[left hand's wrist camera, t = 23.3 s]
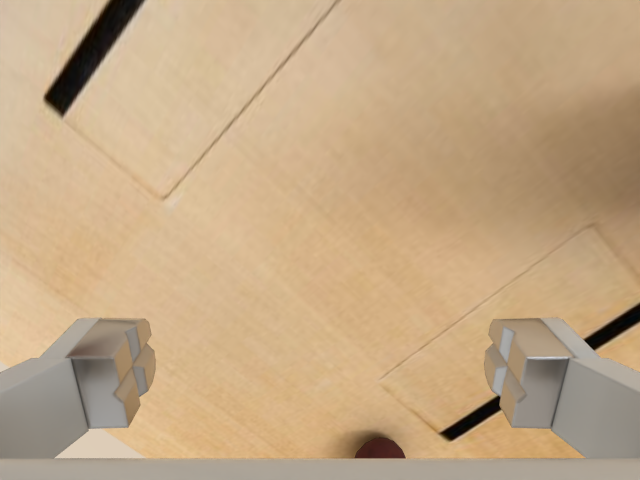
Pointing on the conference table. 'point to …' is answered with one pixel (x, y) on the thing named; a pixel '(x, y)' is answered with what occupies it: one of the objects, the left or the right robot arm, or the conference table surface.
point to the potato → (380, 450)
